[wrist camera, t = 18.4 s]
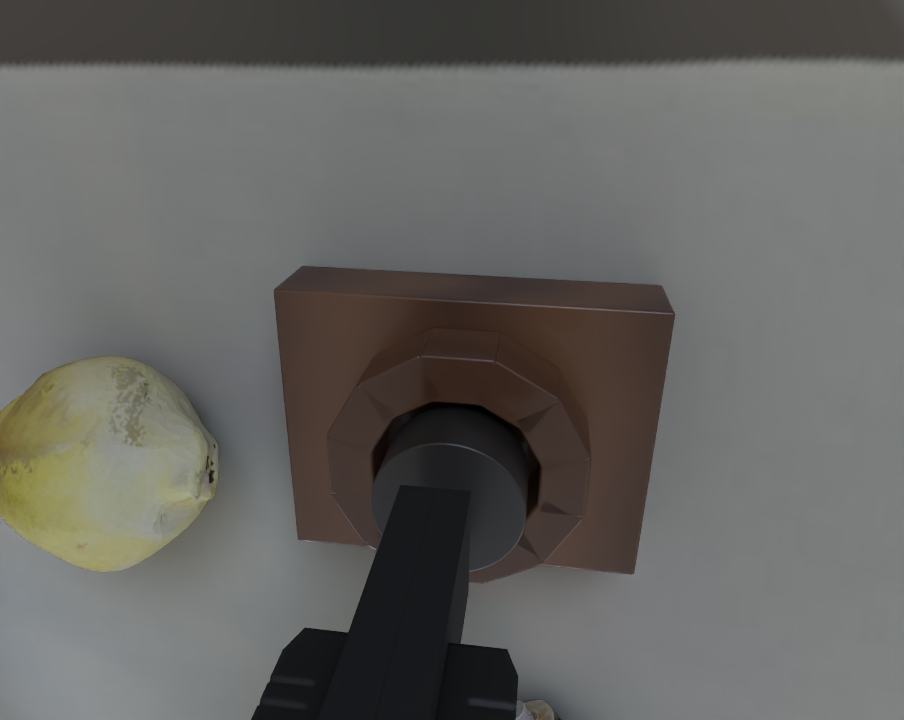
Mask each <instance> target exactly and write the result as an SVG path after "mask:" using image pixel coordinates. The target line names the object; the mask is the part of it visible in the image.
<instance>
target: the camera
mask: <svg viewBox="0 0 904 720" xmlns="http://www.w3.org/2000/svg"><path fill="white" fill-rule="evenodd" d="M516 720H560V718H559V717H558V716H557V714H556V712H555V711H554V710H553V708H552V707H551V706H550V705H549V704H548V703H547V702H546V701H543V700H535V701H529V702H525V703H524V702H522V701H520V700H517V706H516Z"/></svg>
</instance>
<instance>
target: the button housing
mask: <svg viewBox="0 0 904 720" xmlns="http://www.w3.org/2000/svg"><path fill="white" fill-rule="evenodd" d="M274 299H275V310H276V320H277V330H278V340H279V350H280V361H281V371H282V381H283V391H284V402H285V412H286V422H287V432H288V442H289V453H290V463H291V473H292V483H293V493H294V504H295V514H296V524H297V534H298V540H301V541H311V542H321V543H330V544H340V545H350V546H359V547H369V548H372V549H374V550H376V551H377V550H378V547H379V544H380V541H381V538H382V535H381V533H380V532H379V530H378V528H377V526H376V524H375V521H374V518H373V514H372V510H371V492H372V486H373V484H374V481H375V478H376V476H377V474H378V471H379V469H380V466H381V464H382V462H383V459H384V457H385V455H386V452H387V450H388V448H389V445H390V443H391V441H392V439H393V437H394V435H395V434H396V433H397V431H398V430H399V429H400V428H401V427H402V426H403V425H404V424H405V423H406V422H407V421H409V420H410V419H411V418H413V417H415V416H417V415H419V414H420V413H423V412H426V411H429V410H432V409H436V408H443V407H461V408H468V409H472V410H476V411H479V412H481V413H484V414H487V415H488V416H490V417H492V418H494V419H496V420H497V421H499V422H500V423H502V424H503V425H504V426H505V427H506V428H507V429H509V430H510V431H511V433H512V434H513V435H514V436H515V437H516V438H517V440H518V441H519V443H520V444H521V446H522V448H523V450H524V452H525V455H526V458H527V462H528V468H529V479H528V496H527V513H526V522H525V527H524V530H523V533H522V536H521V537H520V539H519V541H518V543H517V544H516V546H515V547H514V548H513V549H512V550H511V551H510V552H509V553H508V554H507V555H506V556H505V557H504V558H502V559H501V560H500V561H498V562H496V563H495V564H493V565H491V566H488V567H486V568H483V569H480V570H476V571H471V572H469V582H475V583H485V582H486V583H488V582H491V581H494V580H497V579H500V578H503V577H506V576H509V575H512V574H515V573H518V572H521V571H524V570H527V569H530V568H533V567H536V566H539V565H543V566H553V567H562V568H572V569H582V570H591V571H601V572H611V573H620V574H630V575H632V574H634V571H635V565H636V559H637V552H638V546H639V540H640V533H641V527H642V521H643V514H644V508H645V502H646V495H647V489H648V483H649V476H650V470H651V464H652V457H653V451H654V445H655V438H656V432H657V426H658V419H659V413H660V407H661V401H662V394H663V388H664V382H665V375H666V369H667V363H668V356H669V350H670V344H671V337H672V331H673V325H674V318H675V313H674V311H673V308H672V306H671V304H670V302H669V300H668V298H667V296H666V294H665V291H664V289H663V287H662V286H660V285H643V284H624V283H606V282H587V281H569V280H550V279H532V278H513V277H494V276H476V275H457V274H439V273H420V272H402V271H383V270H365V269H346V268H328V267H309V266H302V267H300V268H299V269H298V270H297V271H296V272H294V273H293V274H292V275H291V276H290V277H288V278H287V279H286V280H285V281H284V282H282V283H281V284H280V285H279V286H278V287H276V288H275V289H274Z"/></svg>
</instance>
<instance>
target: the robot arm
mask: <svg viewBox="0 0 904 720" xmlns="http://www.w3.org/2000/svg"><path fill="white" fill-rule="evenodd" d="M470 520H471V491H465V490H454V489H443V488H431V487H420V486H409V485H400V487H399V490H398V493H397V496H396V498H395V501H394V504H393V507H392V510H391V513H390V516H389V518H388V521H387V524H386V527H385V530H384V533H383V535H382V538H381V541H380V544H379V547H378V550H377V553H376V555H375V558H374V561H373V564H372V567H371V570H370V572H369V575H368V578H367V581H366V584H365V587H364V590H363V592H362V595H361V598H360V601H359V604H358V607H357V610H356V612H355V615H354V618H353V621H352V624H351V627H350V629H349V632H348V633H346V632H338V631H329V630H320V629H312V628H304V629H303V630H302V631H301V632H300V633H299V634H298V635H297V636H296V637H295V638H294V639H293V640H292V641H291V642H290V643H289V644H288V645H287V646H286V647H285V648H284V649H283V650H282V653H281V655H280V657H279V659H278V661H277V664H276V666H275V668H274V670H273V673H272V675H271V677H270V682H269V683H268V684H267V686H266V688H265V690H264V692H263V695H262V697H261V699H260V704H259V706H257V708H256V710H255V712H254V715H253V717H252V719H251V720H516V706H517V688H518V675H517V672H516V670H515V667H514V665H513V663H512V660H511V658H510V655H509V653H508V650H507V649H501V648H492V647H483V646H474V645H466V644H460V643H461V637H462V630H463V624H464V617H465V611H466V604H467V598H468V585H469V553H470Z"/></svg>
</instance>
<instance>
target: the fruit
mask: <svg viewBox="0 0 904 720" xmlns="http://www.w3.org/2000/svg"><path fill="white" fill-rule="evenodd" d="M218 459H219V447H218V443H217V441H216V440H215V439H214V438H213V437H212V436H211V434H210V433H209V432H208V431H207V430H206V428H205V427H204V425H203V424H202V422H201V421H200V419H199V417H198V415H197V413H196V411H195V410H194V408H193V406H192V404H191V402H190V401H189V399H188V397H187V396H186V394H185V393H184V392H183V391H182V390H181V389H180V388H179V387H178V385H177V384H175V383H174V382H173V381H172V380H171V379H169V378H168V377H166V376H164V375H162V374H161V373H159V372H158V371H157V370H155V369H154V368H152V367H150V366H149V365H147V364H145V363H142V362H140V361H137V360H134V359H130V358H124V357H118V356H104V357H96V358H87V359H83V360H79V361H75V362H72V363H68V364H65V365H63V366H60V367H58V368H55V369H53V370H51V371H48V372H46V373H44V374H42V375H41V376H40V377H39V378H38V379H37V380H36V382H35V383H34V384H33V385H32V386H31V387H30V388H29V389H28V390H27V391H26V392H25V393H24V394H23V395H21V396H19V397H18V398H16V399H15V400H13V401H12V402H11V403H10V404H9V405H7V406H6V407H5V408H4V409H3V410H1V411H0V516H1V517H2V518H3V520H4V521H5V522H6V523H7V524H8V525H9V526H10V527H11V528H12V529H13V530H14V531H15V532H17V533H18V534H19V535H21V536H22V537H24V538H25V539H26V540H28V541H29V542H31V543H32V544H34V545H36V546H37V547H39V548H41V549H43V550H45V551H47V552H48V553H50V554H52V555H54V556H56V557H58V558H60V559H62V560H64V561H67V562H69V563H71V564H74V565H76V566H79V567H81V568H84V569H87V570H93V571H99V572H108V571H119V570H123V569H126V568H129V567H131V566H134V565H136V564H138V563H140V562H141V561H143V560H145V559H146V558H148V557H149V556H151V555H152V554H154V553H155V552H157V551H158V550H160V549H161V548H162V547H164V546H165V545H166V544H168V543H169V542H170V541H171V540H173V539H174V538H175V537H177V536H178V535H179V534H180V533H182V532H183V531H184V530H185V529H186V528H187V527H188V526H189V525H190V524H191V523H192V522H193V521H194V520H195V519H196V518H197V516H198V515H199V514H200V512H201V511H202V509H203V508H204V506H205V505H206V503H207V501H208V500H210V499H214V497H215V490H216V486H217V482H218V478H219V473H220V471H219V463H218Z"/></svg>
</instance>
